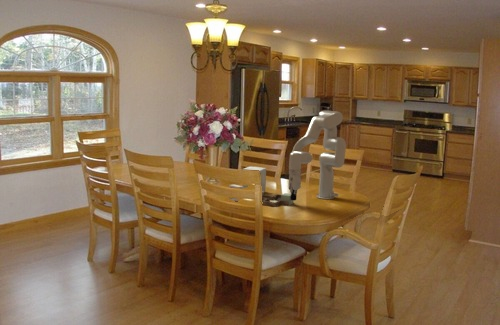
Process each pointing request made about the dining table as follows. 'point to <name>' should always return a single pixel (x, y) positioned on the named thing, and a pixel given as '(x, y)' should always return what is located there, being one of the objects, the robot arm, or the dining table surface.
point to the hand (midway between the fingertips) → (293, 199)
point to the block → (287, 198)
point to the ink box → (235, 187)
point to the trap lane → (277, 198)
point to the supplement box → (263, 176)
